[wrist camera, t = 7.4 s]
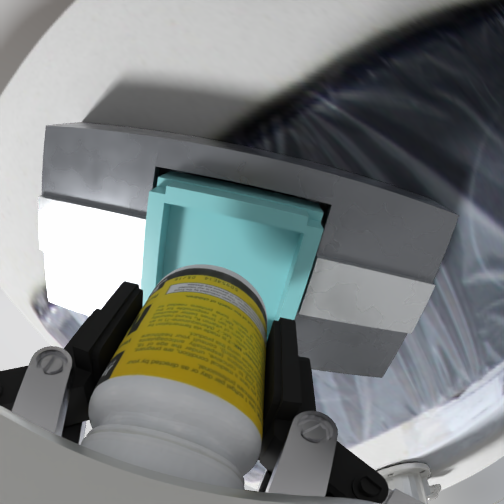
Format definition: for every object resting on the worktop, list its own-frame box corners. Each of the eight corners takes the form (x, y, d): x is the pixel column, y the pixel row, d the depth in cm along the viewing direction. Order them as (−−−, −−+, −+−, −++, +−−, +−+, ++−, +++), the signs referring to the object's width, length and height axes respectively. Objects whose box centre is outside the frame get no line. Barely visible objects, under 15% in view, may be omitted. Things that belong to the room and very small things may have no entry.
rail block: (429, 198, 19) (462, 217, 15) (369, 343, 23) (383, 381, 19) (81, 122, 18) (41, 126, 14) (75, 276, 23) (45, 304, 19)
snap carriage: (317, 203, 17) (327, 220, 14) (280, 326, 20) (281, 359, 17) (170, 170, 17) (149, 181, 14) (155, 297, 20) (138, 326, 17)
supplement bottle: (154, 249, 12) (22, 429, 4) (279, 273, 12) (285, 502, 4) (151, 345, 13) (80, 510, 6) (254, 367, 14) (239, 550, 6)
